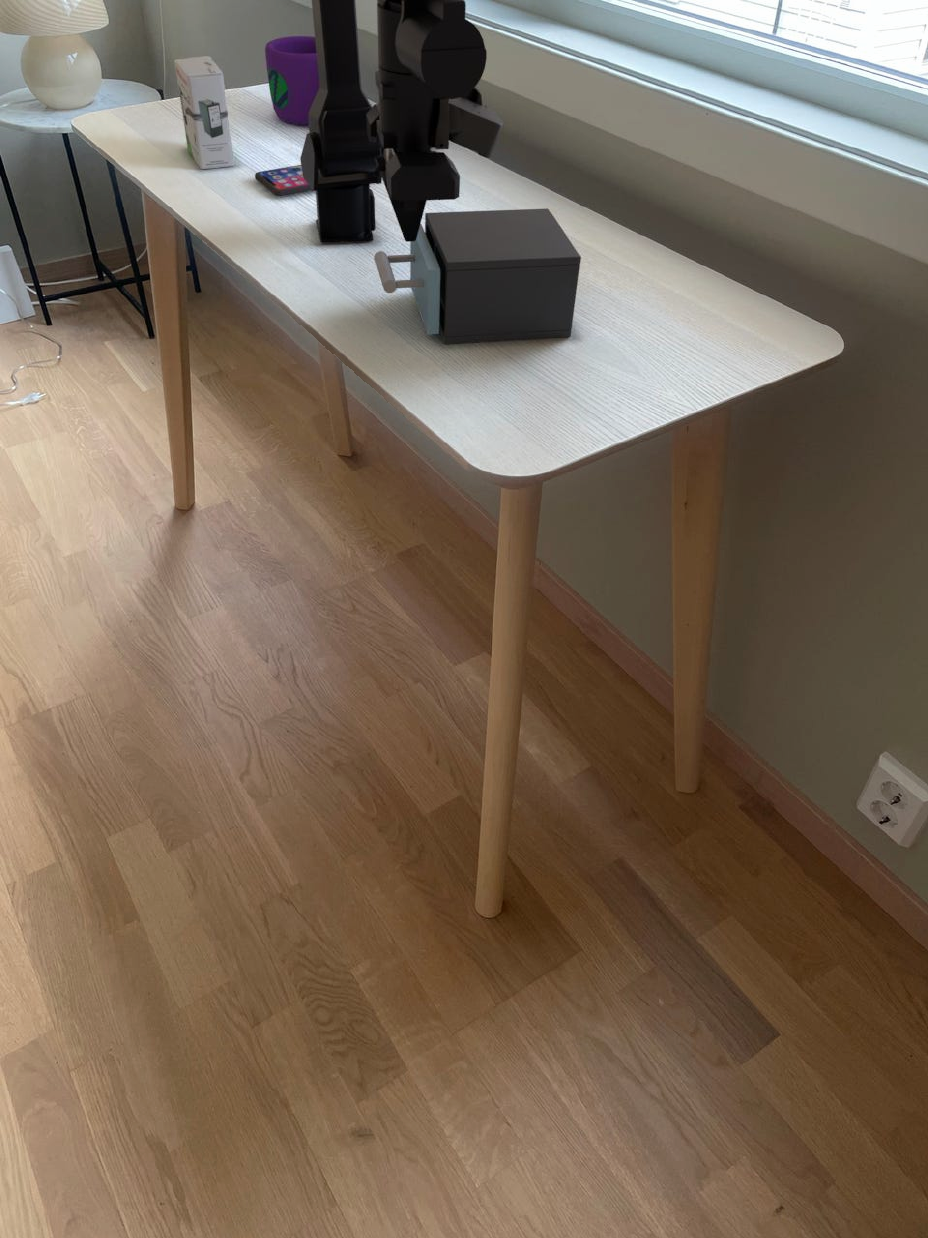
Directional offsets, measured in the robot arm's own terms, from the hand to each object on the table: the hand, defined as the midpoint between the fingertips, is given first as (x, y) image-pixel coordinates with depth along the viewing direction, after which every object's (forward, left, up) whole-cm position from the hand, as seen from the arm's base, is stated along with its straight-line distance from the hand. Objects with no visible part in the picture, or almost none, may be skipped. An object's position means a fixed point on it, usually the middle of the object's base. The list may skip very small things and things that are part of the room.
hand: (410, 239), depth 94 cm
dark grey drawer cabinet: (+9, 0, -8) cm, 13 cm away
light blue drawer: (+5, 0, -7) cm, 9 cm away
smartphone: (-7, +41, -8) cm, 42 cm away
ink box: (-21, +51, -8) cm, 56 cm away
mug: (-4, +66, -8) cm, 67 cm away
